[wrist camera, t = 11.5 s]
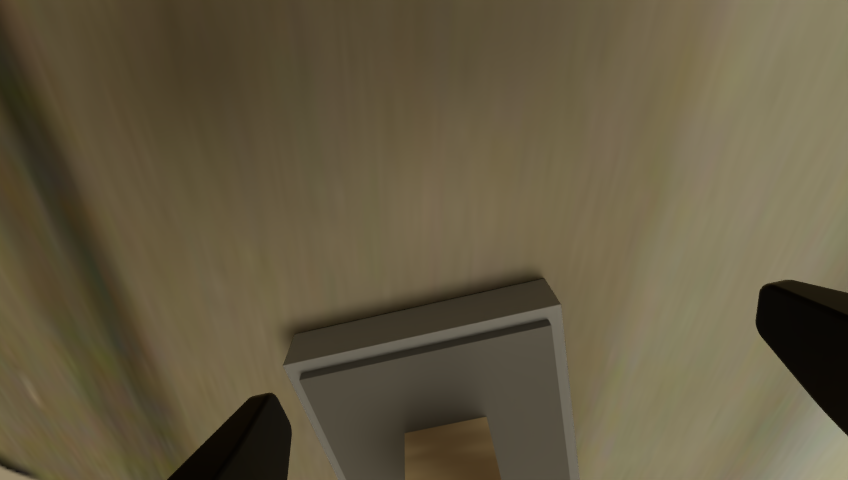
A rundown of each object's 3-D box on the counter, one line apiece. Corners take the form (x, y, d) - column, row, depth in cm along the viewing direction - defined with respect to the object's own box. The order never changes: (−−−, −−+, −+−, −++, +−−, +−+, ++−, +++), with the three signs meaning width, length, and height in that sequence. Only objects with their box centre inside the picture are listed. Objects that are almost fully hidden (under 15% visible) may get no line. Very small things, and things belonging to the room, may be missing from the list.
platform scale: (544, 278, 22) (564, 310, 19) (568, 472, 29) (586, 516, 26) (294, 334, 23) (280, 372, 20) (374, 511, 29) (371, 557, 27)
